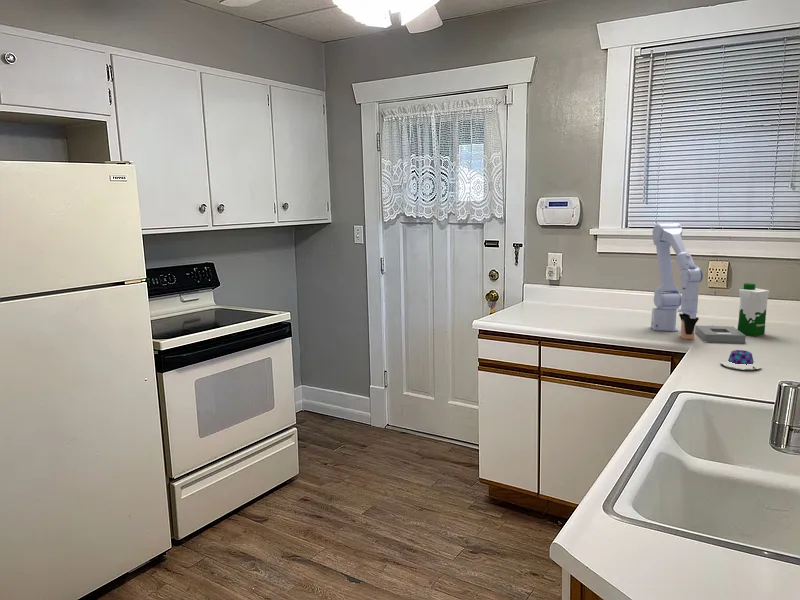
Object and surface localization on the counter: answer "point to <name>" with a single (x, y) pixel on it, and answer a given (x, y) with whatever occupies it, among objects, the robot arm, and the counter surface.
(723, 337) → the outlet box
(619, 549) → the counter surface
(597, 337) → the counter surface
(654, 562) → the counter surface
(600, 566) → the counter surface
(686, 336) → the tan rectangular block
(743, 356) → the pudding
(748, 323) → the milk carton
